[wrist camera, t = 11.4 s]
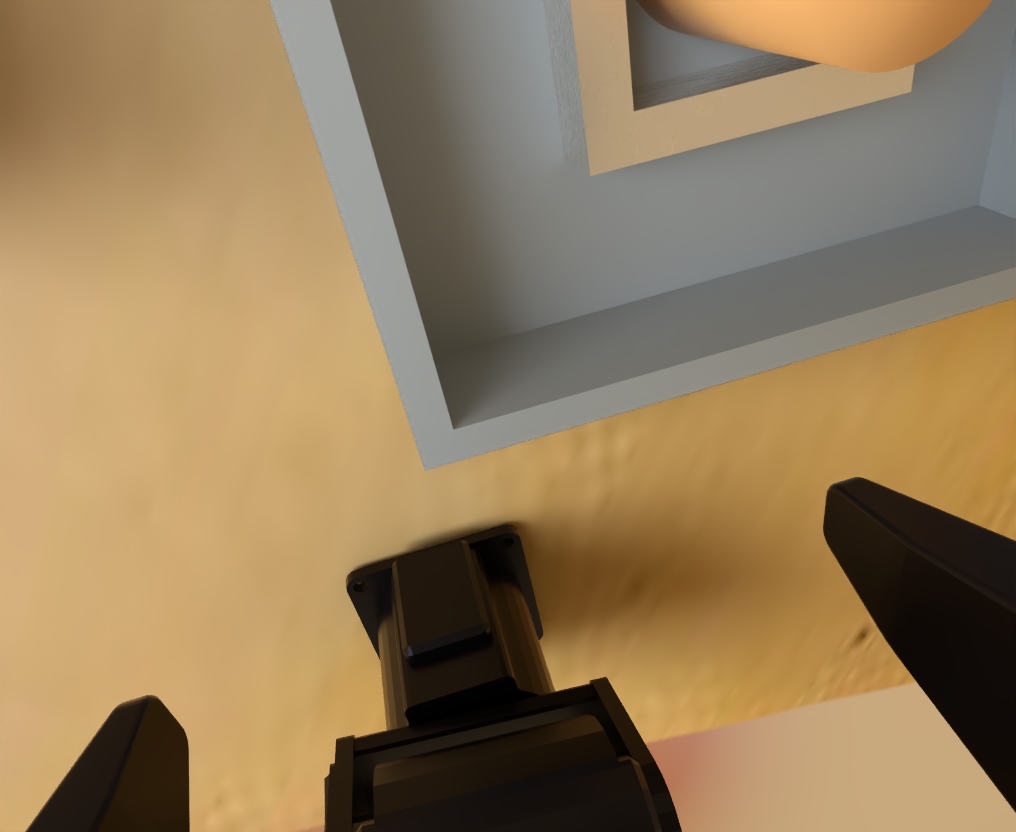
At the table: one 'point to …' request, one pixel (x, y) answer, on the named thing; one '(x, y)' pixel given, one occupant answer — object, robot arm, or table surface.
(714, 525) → the table surface
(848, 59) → the peach capsule shape
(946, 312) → the inlet box
